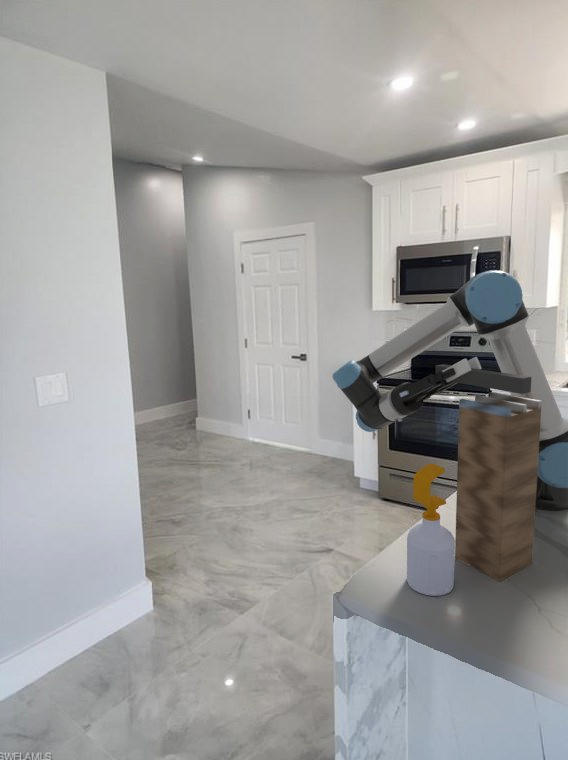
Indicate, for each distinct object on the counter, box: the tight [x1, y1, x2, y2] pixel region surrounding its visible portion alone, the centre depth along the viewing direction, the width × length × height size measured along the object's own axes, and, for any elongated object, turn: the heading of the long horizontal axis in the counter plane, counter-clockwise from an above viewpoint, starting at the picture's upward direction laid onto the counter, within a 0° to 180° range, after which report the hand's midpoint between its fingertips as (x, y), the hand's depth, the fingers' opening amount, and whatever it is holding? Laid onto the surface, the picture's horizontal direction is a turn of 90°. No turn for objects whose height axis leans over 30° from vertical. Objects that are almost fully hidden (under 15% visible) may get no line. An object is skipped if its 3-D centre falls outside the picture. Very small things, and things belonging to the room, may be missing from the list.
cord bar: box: [434, 363, 531, 394], centre depth 104 cm, size 21×3×3 cm, turn 32°
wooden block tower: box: [454, 391, 542, 582], centre depth 105 cm, size 11×11×36 cm
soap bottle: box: [406, 463, 455, 597], centre depth 99 cm, size 9×9×25 cm
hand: (472, 363), depth 105 cm, fingers closed on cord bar, 3 cm apart
